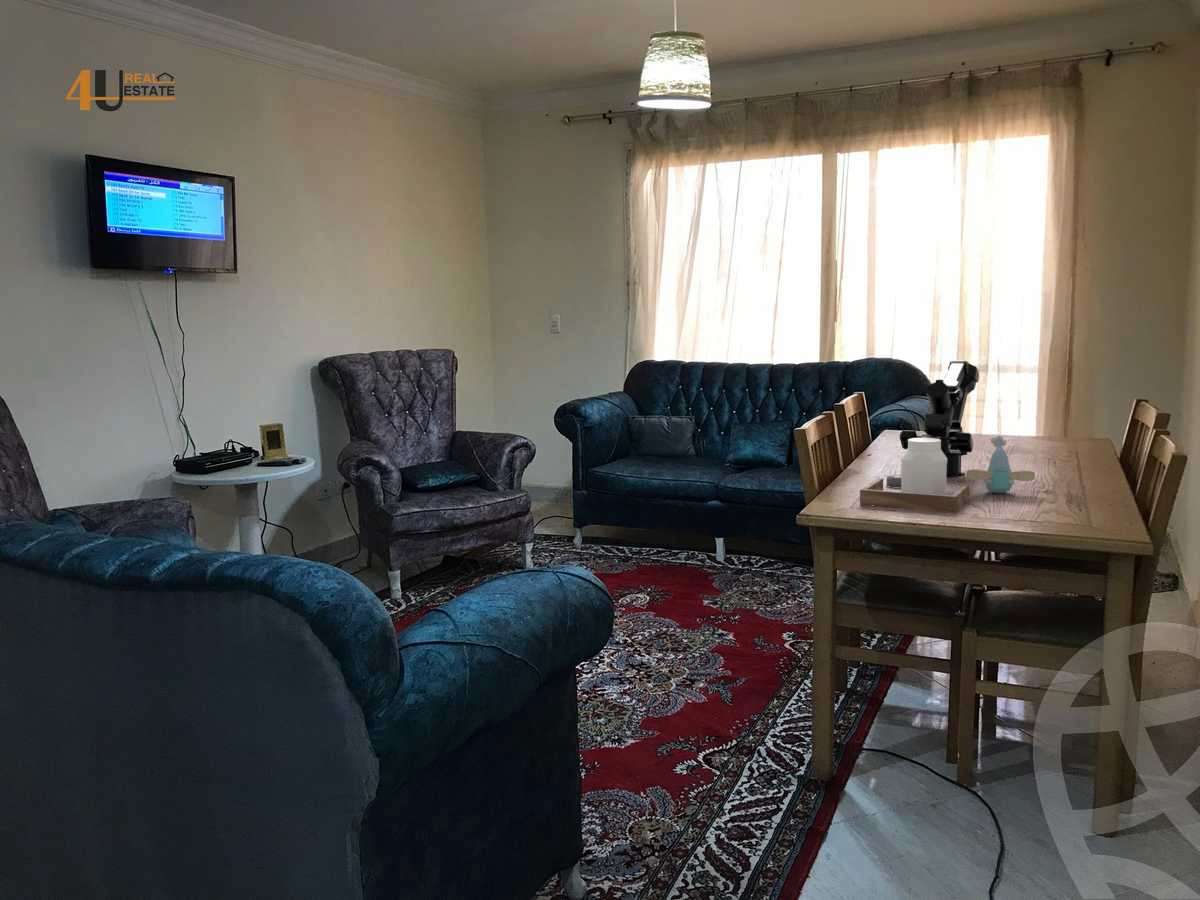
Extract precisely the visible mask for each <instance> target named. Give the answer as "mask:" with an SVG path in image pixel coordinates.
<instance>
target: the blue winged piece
mask: <svg viewBox="0 0 1200 900" xmlns="http://www.w3.org/2000/svg"><path fill="white" fill-rule="evenodd" d="M990 442H991V443H992V444H993V445H994V447H995V450H994V451H993V453H992V454H991V456H990V460H989V464H988V467H987V470H983V469H973V468H972V469H968V470H966V471H965V477H966V479H968V480H974V481H977V480H979V481H980V480H983V482H982V483H983V484H984V486H985V488H986V489H987V490H988V491H990V492H991V493H993V494H1005V493H1007V492H1008V491H1010V490H1011V489H1012V487H1013V485H1014V484H1015V481H1019V482H1020V481H1021V482H1031V481H1034V480H1035V477H1036V474H1035V472H1034V471H1032V470H1015V471H1014V470H1012V469H1011V466H1010V463H1009V459H1008V455H1007V452H1006V451H1005V450H1004V449H1003V447H1004V446H1006V445H1007V444H1008V443H1007V440H1006V439H1005V438H1003V436H1002V435H1001V434H1000V435H997V436H996V437H995V436H993V437H992V438H991V439H990Z"/></svg>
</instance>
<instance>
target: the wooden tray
mask: <svg viewBox="0 0 1200 900" xmlns="http://www.w3.org/2000/svg"><path fill="white" fill-rule="evenodd" d="M970 490H971V484H970V483H963V485H962V486H961V487H959V488H958V489H957V490H956V491H955V492H954V493H953V494H951V495H950V494H949V495H948V494H946V495H937V494H923V493H909V492H901V491H893V490H884V477H883V478H882V477H878V478H876V479H875V480H874V481H872V482H870V483H868V484H867V485H865V486H864V487H862V488H861V489H859V505H860V504H862V505H861V506H863V505H874V506H873V507H875V506H882V507H881V508H888V507H892V508H891V509H900V508H904V510H913V509H918V510H917V511H925V510H928V512H939V513H940V512H941V513H951V514H952V513H953V514H956V513H957V512H958V511H959V510H961V508H962V507H963V506H964V505H965V504H967V502H968V501H969V500H970V495H971V494H970Z"/></svg>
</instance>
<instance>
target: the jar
mask: <svg viewBox="0 0 1200 900" xmlns="http://www.w3.org/2000/svg"><path fill="white" fill-rule="evenodd" d="M905 450H906V451H905V452H904V453H903V455H902V456H901V458H900V461H901V462H900V463H901V469H900V470H901V471H900V472H901V488H900V492H909V493H923V494H937V495H947V476H946V471H947V458H946V456H945V455H944V453H943V452H942V450H941V440H940V439H936V438H911V439H908V449H905Z"/></svg>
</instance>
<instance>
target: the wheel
mask: <svg viewBox="0 0 1200 900" xmlns="http://www.w3.org/2000/svg"><path fill="white" fill-rule="evenodd" d="M887 486H890V487H889V488H891V487H901V475H897V474H896V475H895V474H894V475H888V476H886V487H887Z"/></svg>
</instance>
